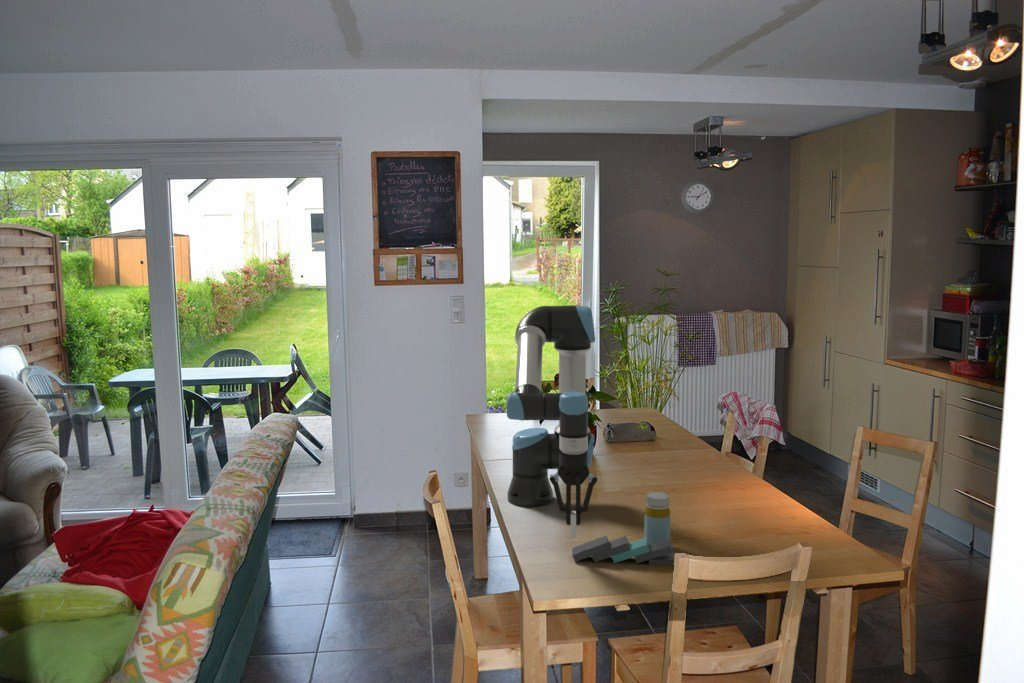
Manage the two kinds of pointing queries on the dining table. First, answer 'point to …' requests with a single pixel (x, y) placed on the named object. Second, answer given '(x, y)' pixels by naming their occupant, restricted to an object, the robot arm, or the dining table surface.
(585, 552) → the domino
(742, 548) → the dining table surface
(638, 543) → the domino
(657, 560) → the domino
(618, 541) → the domino
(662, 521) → the bottle
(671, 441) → the dining table surface
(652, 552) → the domino
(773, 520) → the dining table surface
